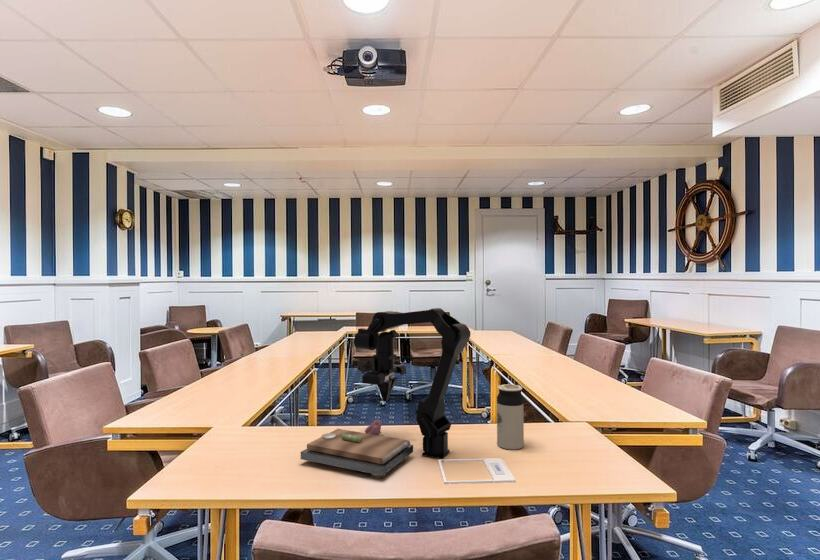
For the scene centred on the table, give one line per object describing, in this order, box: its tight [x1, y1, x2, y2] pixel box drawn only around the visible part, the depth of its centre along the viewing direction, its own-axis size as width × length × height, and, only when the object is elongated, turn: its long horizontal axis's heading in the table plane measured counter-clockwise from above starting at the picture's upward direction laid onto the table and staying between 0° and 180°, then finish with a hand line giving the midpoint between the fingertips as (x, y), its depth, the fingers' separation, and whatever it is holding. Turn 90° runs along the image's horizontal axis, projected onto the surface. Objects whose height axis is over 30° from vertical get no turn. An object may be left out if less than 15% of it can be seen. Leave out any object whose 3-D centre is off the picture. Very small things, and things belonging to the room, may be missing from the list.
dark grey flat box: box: [300, 444, 414, 479], centre depth 130 cm, size 26×18×4 cm
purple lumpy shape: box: [364, 418, 383, 436], centre depth 148 cm, size 10×5×7 cm, turn 0°
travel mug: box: [496, 383, 525, 450], centre depth 141 cm, size 8×8×18 cm
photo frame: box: [437, 457, 517, 485], centre depth 122 cm, size 15×1×18 cm
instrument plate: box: [306, 428, 411, 464], centre depth 129 cm, size 25×15×3 cm, turn 64°
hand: (385, 401), depth 144 cm, fingers closed
